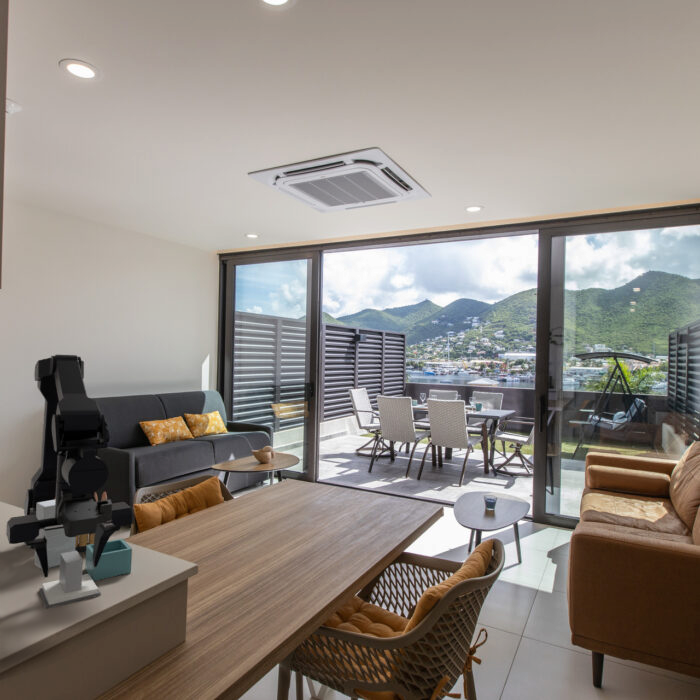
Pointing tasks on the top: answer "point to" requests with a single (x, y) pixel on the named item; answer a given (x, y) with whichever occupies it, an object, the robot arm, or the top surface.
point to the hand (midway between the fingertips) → (70, 571)
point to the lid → (69, 581)
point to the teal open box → (109, 560)
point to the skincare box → (53, 536)
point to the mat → (64, 601)
